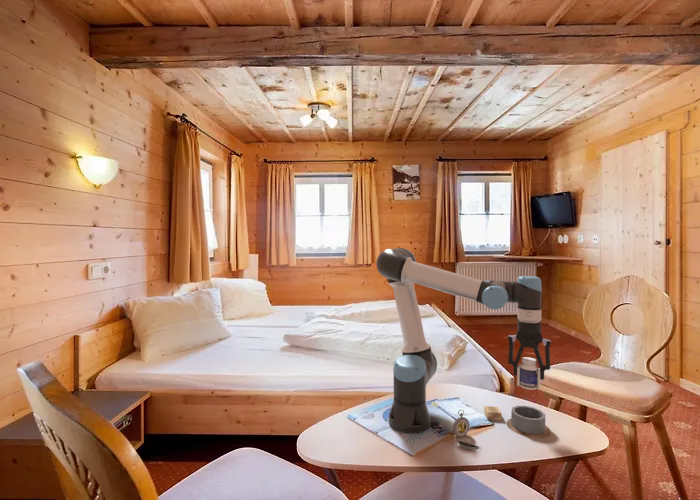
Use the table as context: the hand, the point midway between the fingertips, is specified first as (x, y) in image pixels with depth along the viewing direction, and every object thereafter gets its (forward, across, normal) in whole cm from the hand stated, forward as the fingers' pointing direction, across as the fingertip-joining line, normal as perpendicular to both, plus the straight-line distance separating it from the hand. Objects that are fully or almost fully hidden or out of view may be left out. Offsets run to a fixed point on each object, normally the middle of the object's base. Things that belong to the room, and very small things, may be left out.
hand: (528, 386), depth 127 cm
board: (+16, 0, 0) cm, 16 cm away
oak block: (+16, -12, +2) cm, 20 cm away
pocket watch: (+16, -17, -19) cm, 30 cm away
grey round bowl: (+15, 0, 0) cm, 15 cm away
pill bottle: (0, 0, 0) cm, 0 cm away
